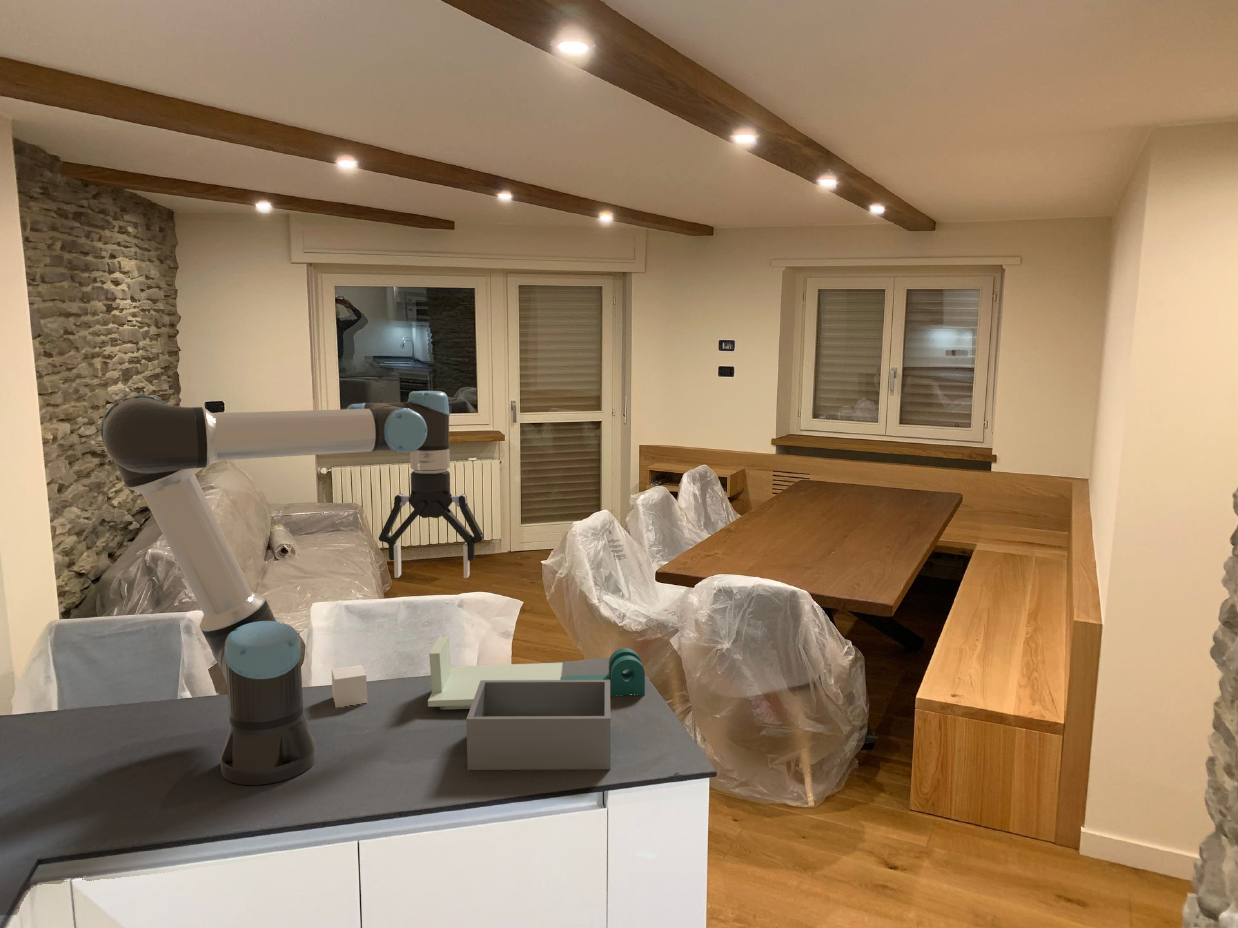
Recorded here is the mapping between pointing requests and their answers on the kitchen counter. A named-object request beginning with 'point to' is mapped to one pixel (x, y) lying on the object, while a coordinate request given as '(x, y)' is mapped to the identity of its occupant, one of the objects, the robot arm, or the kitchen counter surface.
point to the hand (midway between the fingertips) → (432, 576)
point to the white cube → (349, 686)
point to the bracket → (621, 674)
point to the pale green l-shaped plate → (475, 677)
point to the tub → (539, 725)
